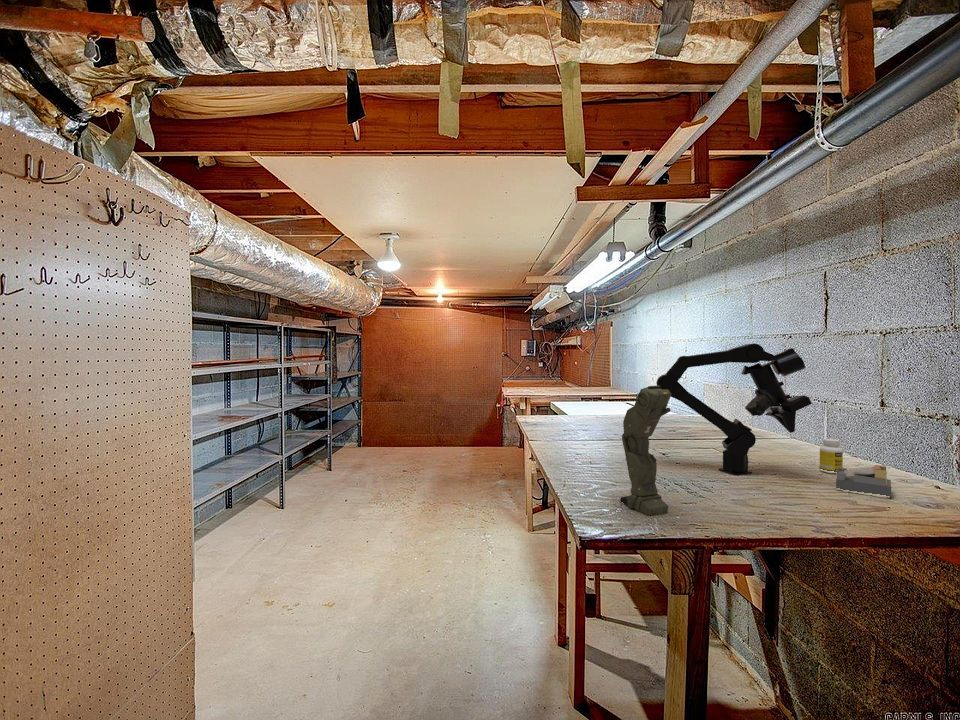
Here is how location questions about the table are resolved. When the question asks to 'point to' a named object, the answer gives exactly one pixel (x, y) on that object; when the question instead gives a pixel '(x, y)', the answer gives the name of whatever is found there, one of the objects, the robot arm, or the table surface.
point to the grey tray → (865, 482)
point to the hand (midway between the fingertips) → (792, 432)
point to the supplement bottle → (831, 455)
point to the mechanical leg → (644, 449)
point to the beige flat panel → (860, 471)
